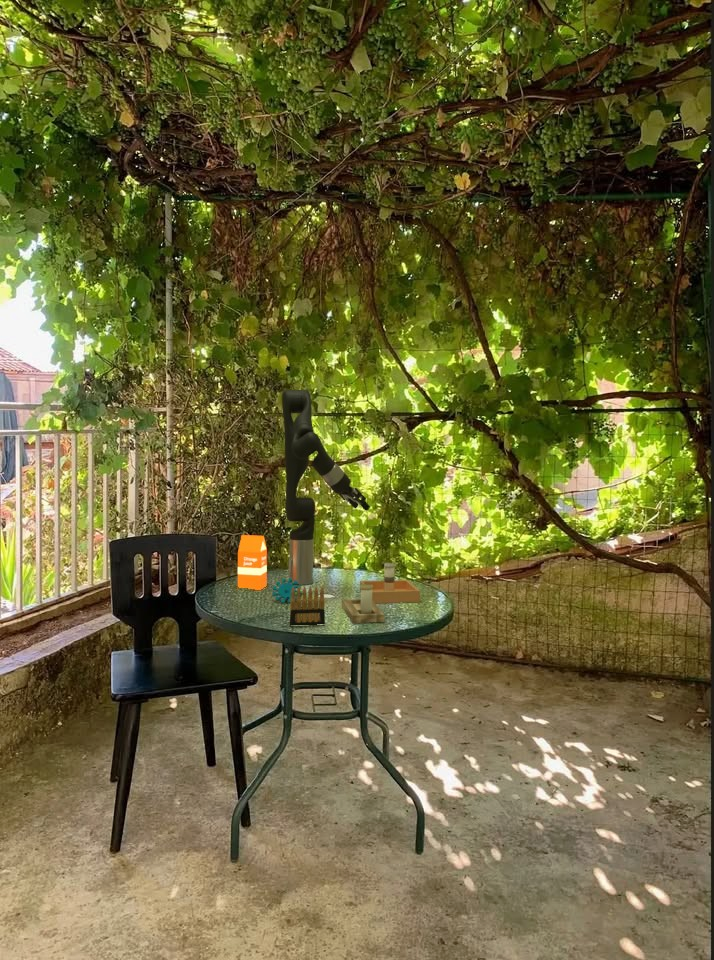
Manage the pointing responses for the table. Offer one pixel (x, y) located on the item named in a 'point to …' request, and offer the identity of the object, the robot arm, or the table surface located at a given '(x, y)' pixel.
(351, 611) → the fuse block
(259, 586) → the orange juice
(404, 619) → the table surface
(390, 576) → the white domed cylinder
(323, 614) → the ammunition clip
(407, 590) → the parts tray
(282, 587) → the gear
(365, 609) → the fuse
